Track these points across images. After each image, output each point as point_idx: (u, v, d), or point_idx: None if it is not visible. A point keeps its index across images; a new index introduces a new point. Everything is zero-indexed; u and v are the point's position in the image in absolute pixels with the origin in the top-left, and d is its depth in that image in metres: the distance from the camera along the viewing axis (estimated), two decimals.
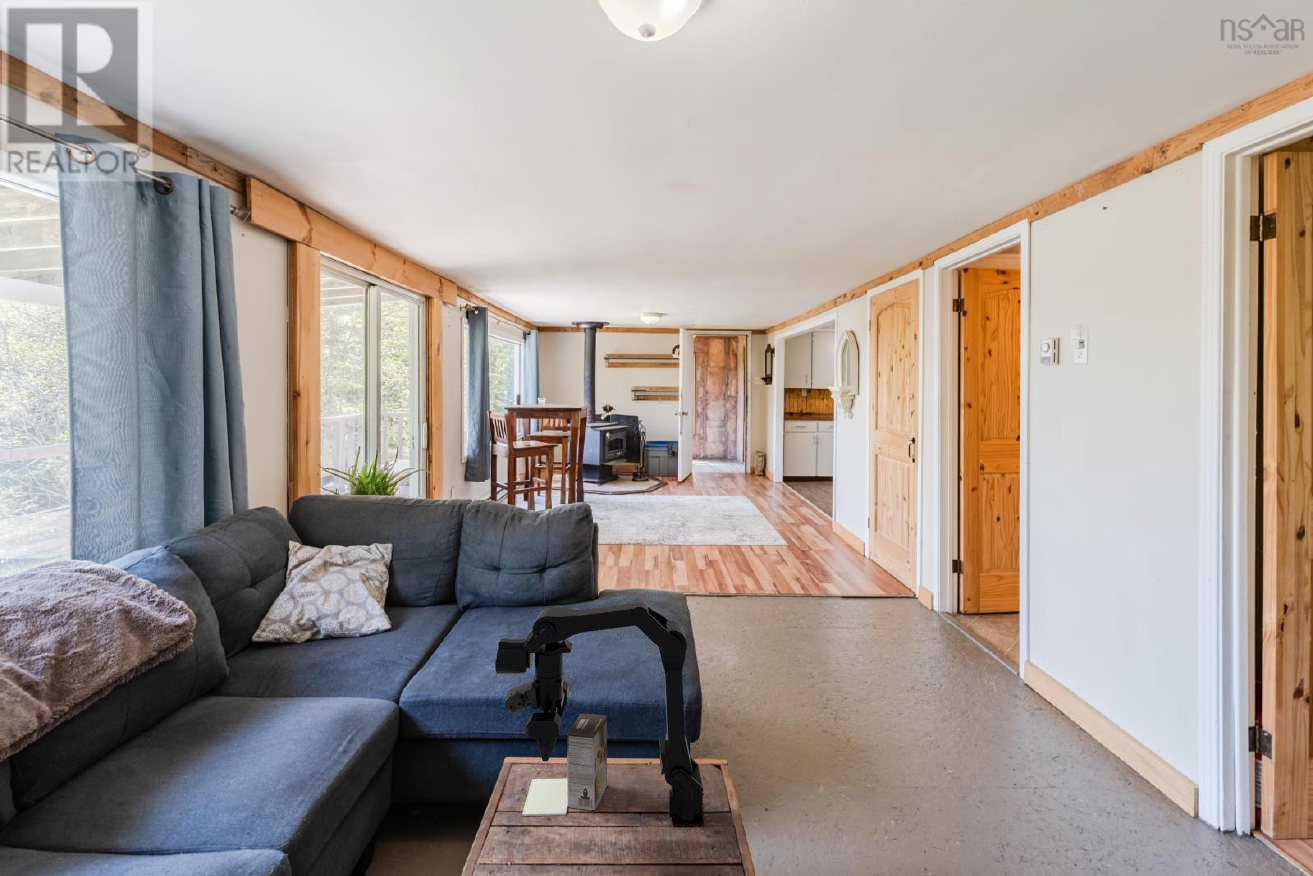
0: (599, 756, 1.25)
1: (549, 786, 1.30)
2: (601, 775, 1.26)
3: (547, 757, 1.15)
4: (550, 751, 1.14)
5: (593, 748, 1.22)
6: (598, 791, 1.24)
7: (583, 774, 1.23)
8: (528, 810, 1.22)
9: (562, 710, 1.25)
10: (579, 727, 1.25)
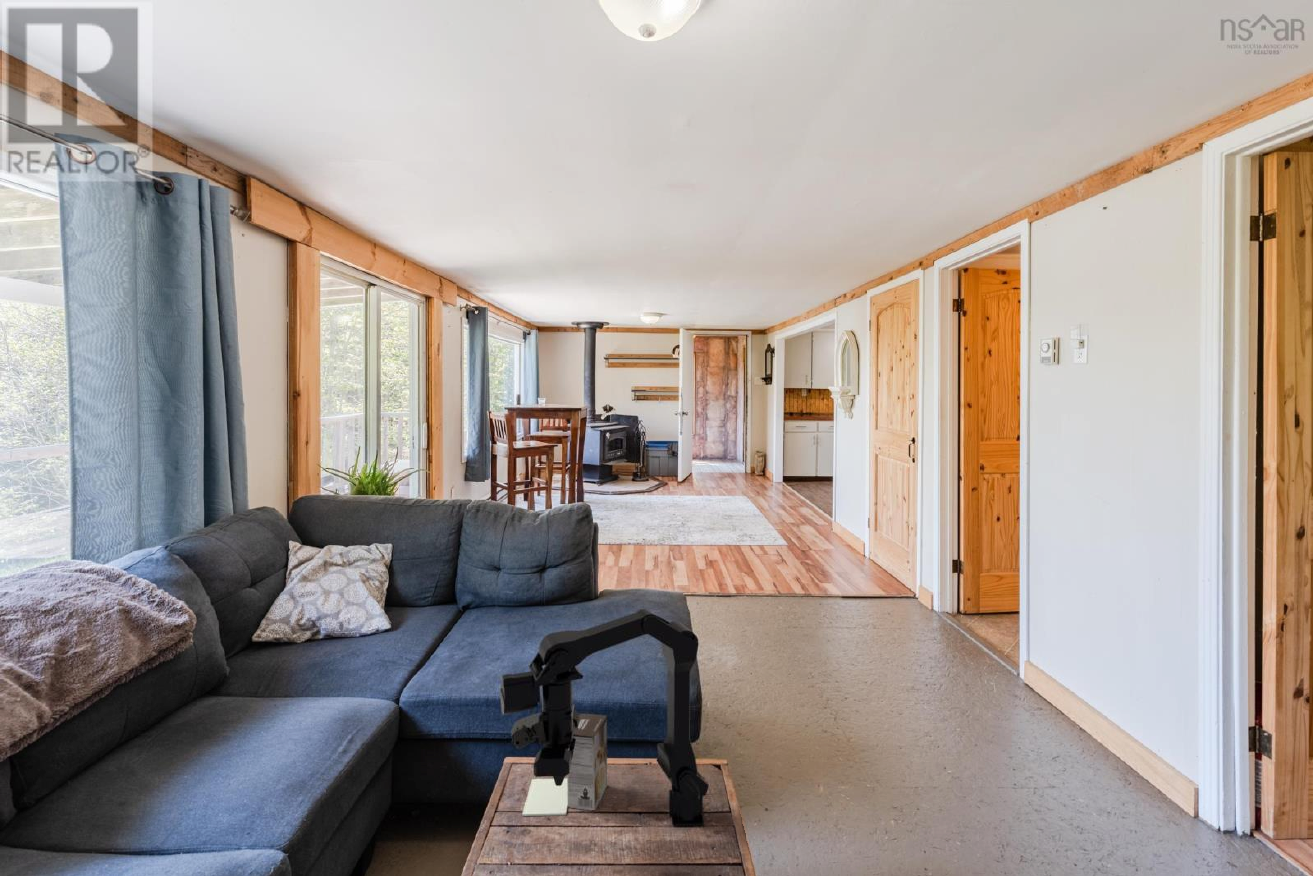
0: (599, 756, 1.25)
1: (549, 786, 1.30)
2: (601, 775, 1.26)
3: (560, 781, 1.10)
4: None
5: (593, 748, 1.22)
6: (598, 791, 1.24)
7: (583, 774, 1.23)
8: (528, 810, 1.22)
9: None
10: (579, 727, 1.25)
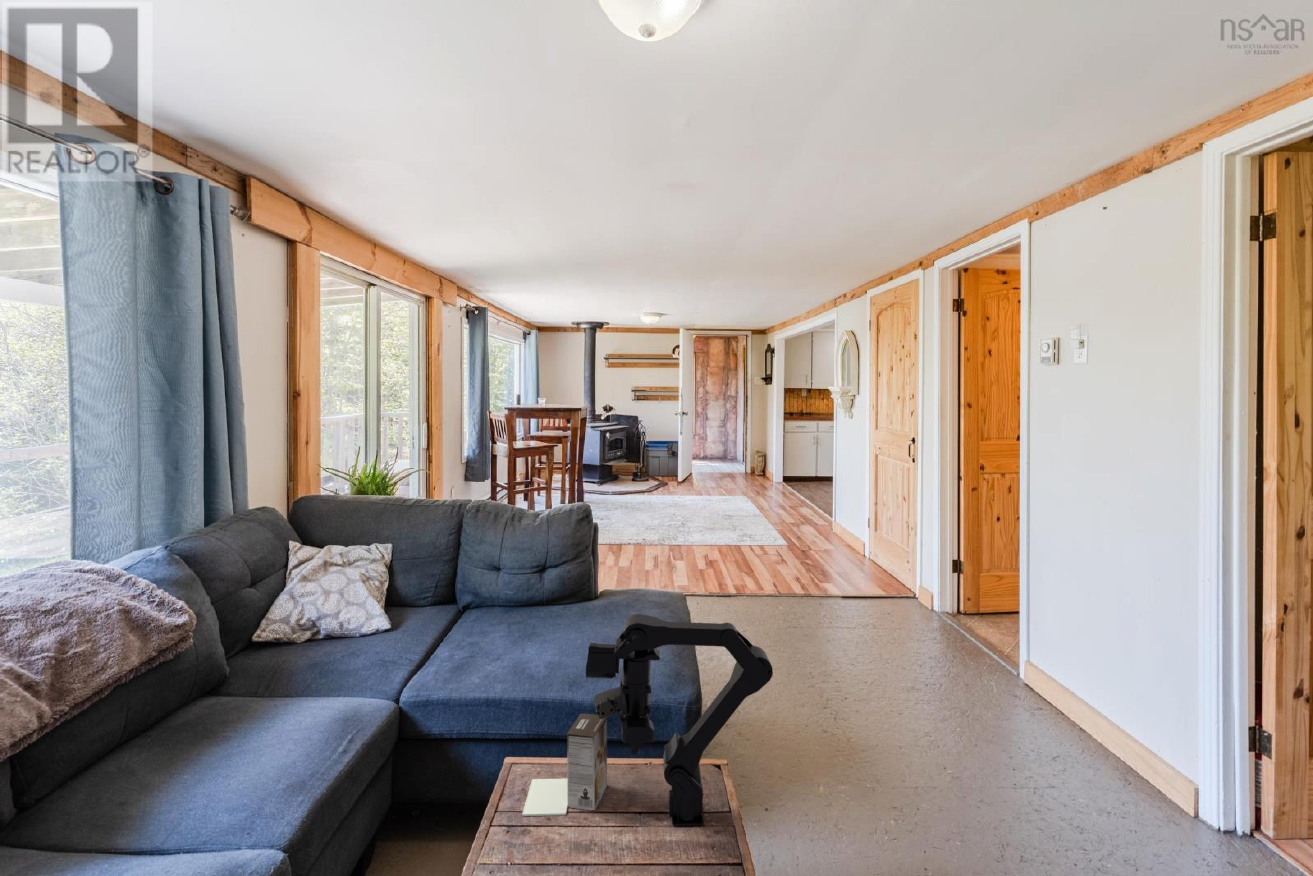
0: (599, 756, 1.25)
1: (549, 786, 1.30)
2: (601, 775, 1.26)
3: (636, 750, 1.20)
4: (639, 744, 1.20)
5: (593, 748, 1.22)
6: (598, 791, 1.24)
7: (583, 774, 1.23)
8: (528, 810, 1.22)
9: None
10: (579, 727, 1.25)
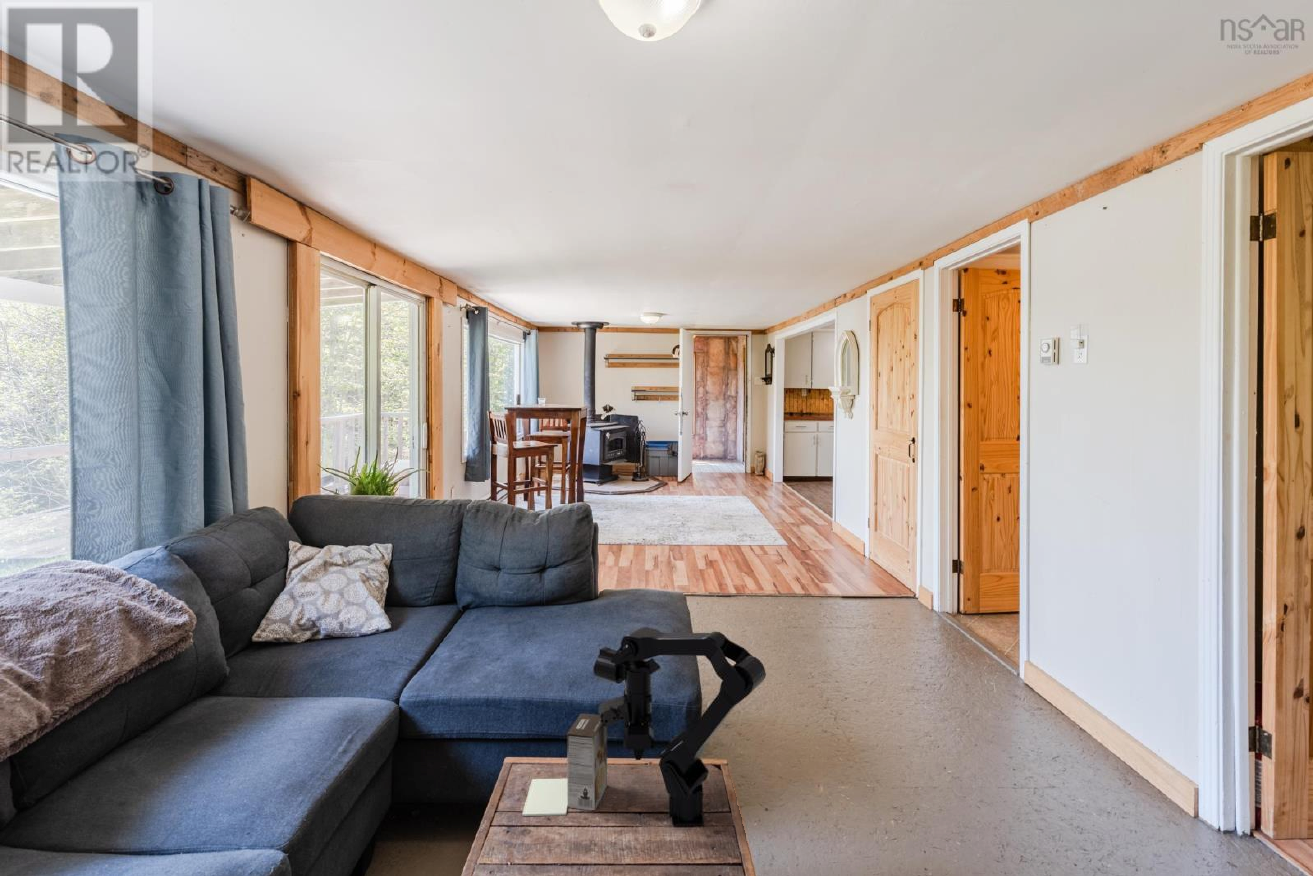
0: (599, 756, 1.25)
1: (549, 786, 1.30)
2: (601, 775, 1.26)
3: (640, 756, 1.27)
4: (643, 751, 1.27)
5: (593, 748, 1.22)
6: (598, 791, 1.24)
7: (583, 774, 1.23)
8: (528, 810, 1.22)
9: None
10: (579, 727, 1.25)
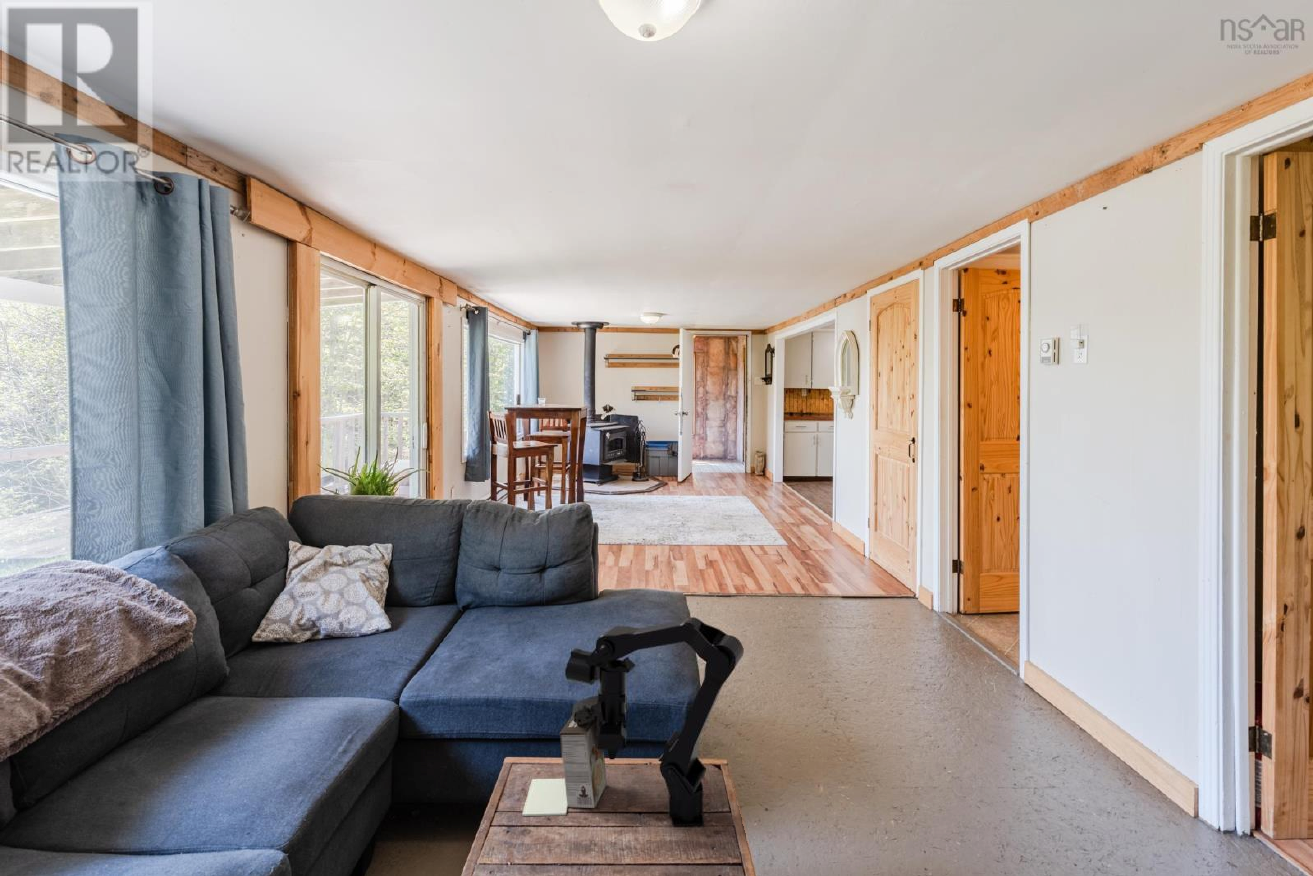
0: (594, 753, 1.25)
1: (549, 786, 1.30)
2: (598, 772, 1.27)
3: (614, 755, 1.27)
4: (617, 750, 1.26)
5: (587, 744, 1.22)
6: (596, 788, 1.24)
7: (579, 772, 1.23)
8: (528, 810, 1.22)
9: None
10: (571, 726, 1.26)
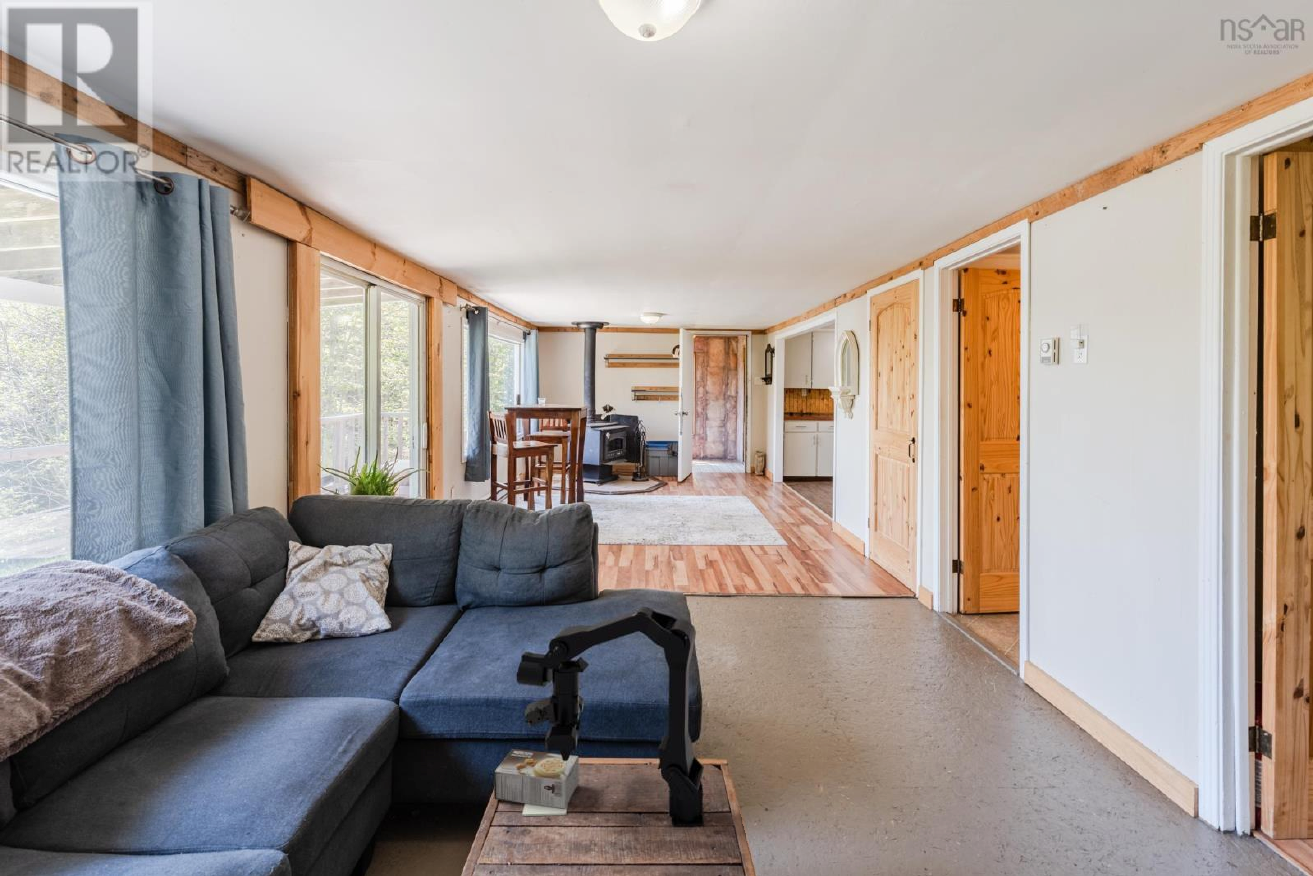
0: (525, 766, 1.27)
1: None
2: (549, 765, 1.27)
3: (567, 757, 1.26)
4: (570, 751, 1.26)
5: (505, 773, 1.25)
6: (554, 772, 1.25)
7: (530, 787, 1.24)
8: (528, 810, 1.22)
9: None
10: None
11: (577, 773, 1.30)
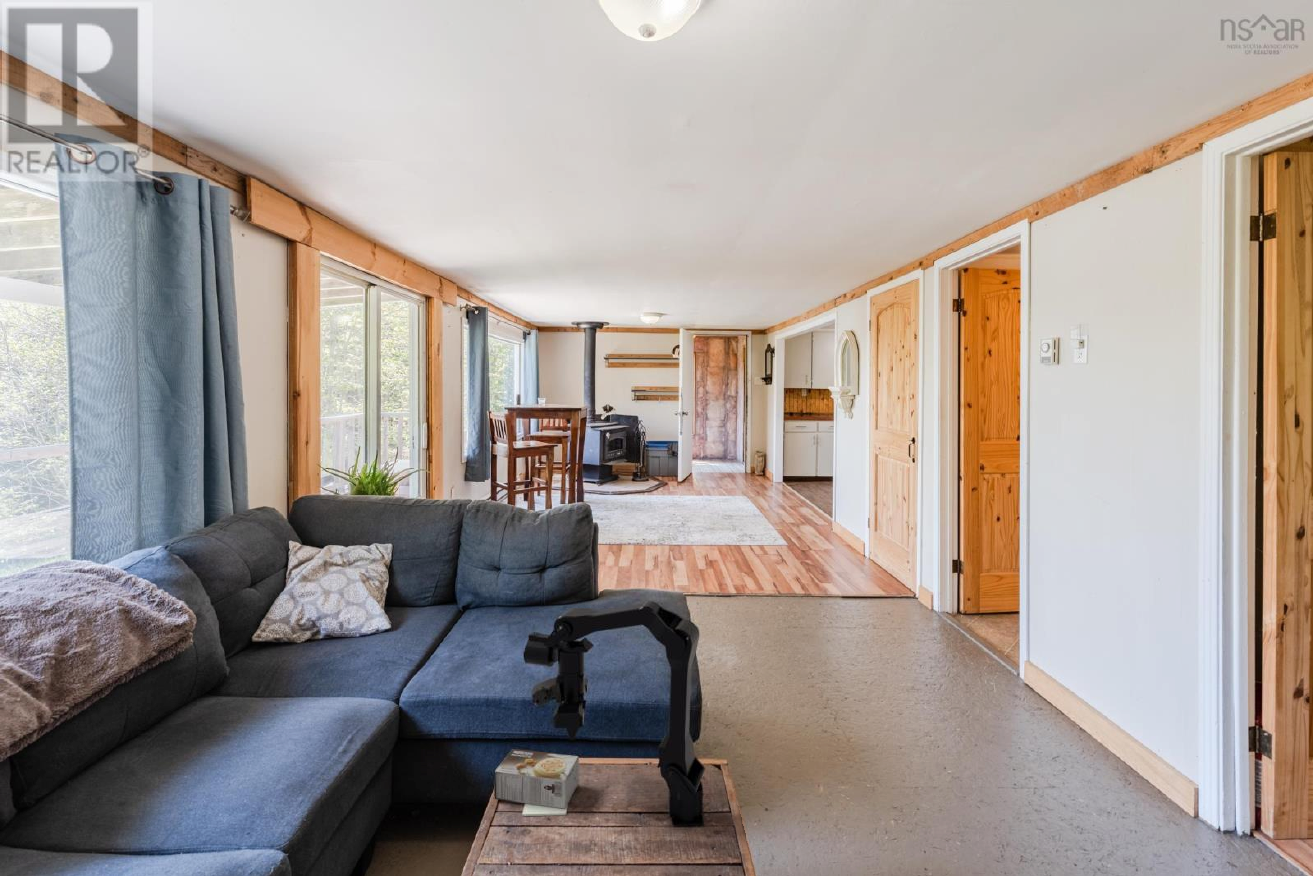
0: (525, 766, 1.27)
1: None
2: (549, 765, 1.27)
3: (573, 736, 1.28)
4: (576, 730, 1.28)
5: (505, 773, 1.25)
6: (554, 772, 1.25)
7: (531, 787, 1.24)
8: (528, 810, 1.22)
9: None
10: None
11: (577, 773, 1.30)
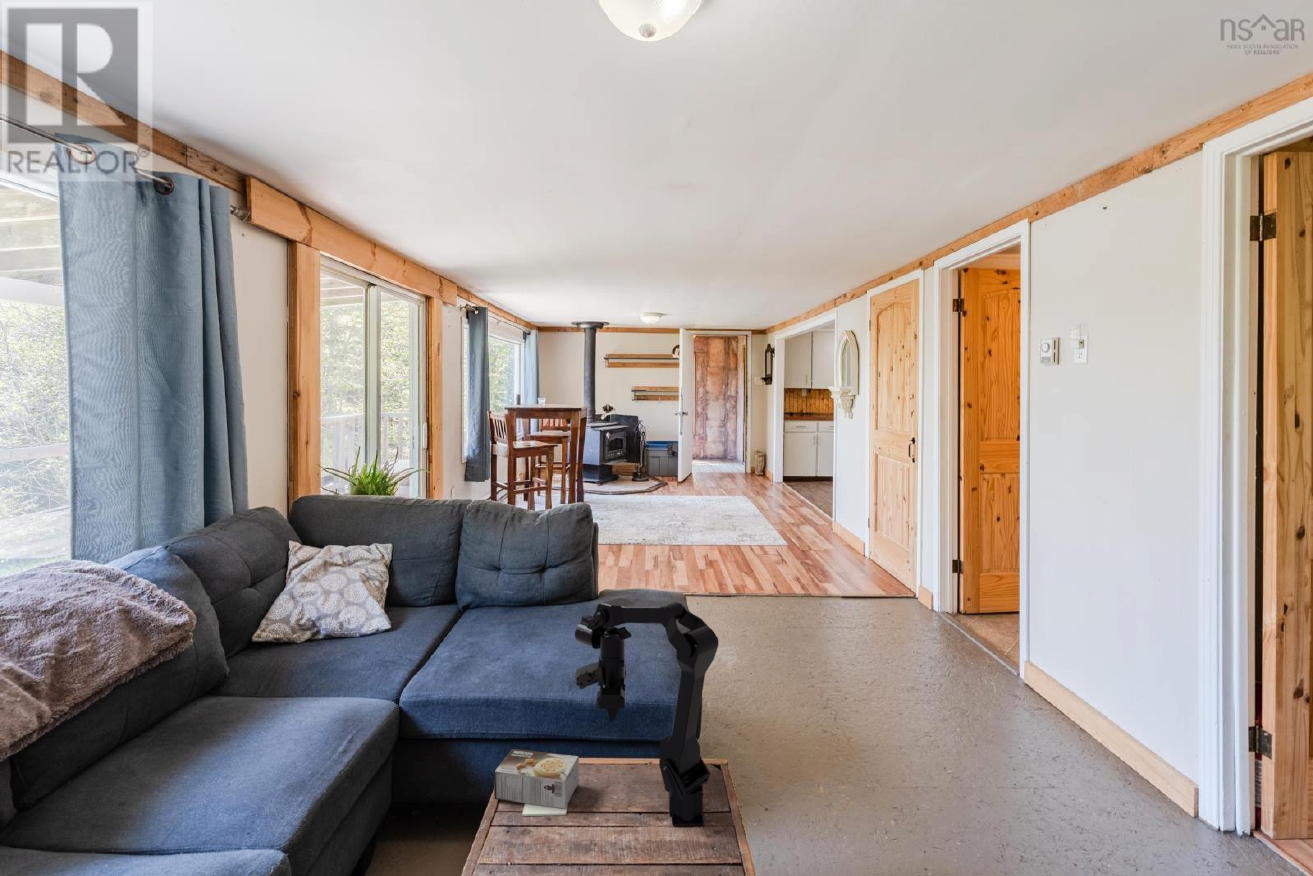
0: (525, 766, 1.27)
1: None
2: (549, 765, 1.27)
3: (614, 717, 1.36)
4: (616, 712, 1.35)
5: (505, 773, 1.25)
6: (554, 772, 1.25)
7: (531, 787, 1.24)
8: (528, 810, 1.22)
9: None
10: None
11: (577, 773, 1.30)
